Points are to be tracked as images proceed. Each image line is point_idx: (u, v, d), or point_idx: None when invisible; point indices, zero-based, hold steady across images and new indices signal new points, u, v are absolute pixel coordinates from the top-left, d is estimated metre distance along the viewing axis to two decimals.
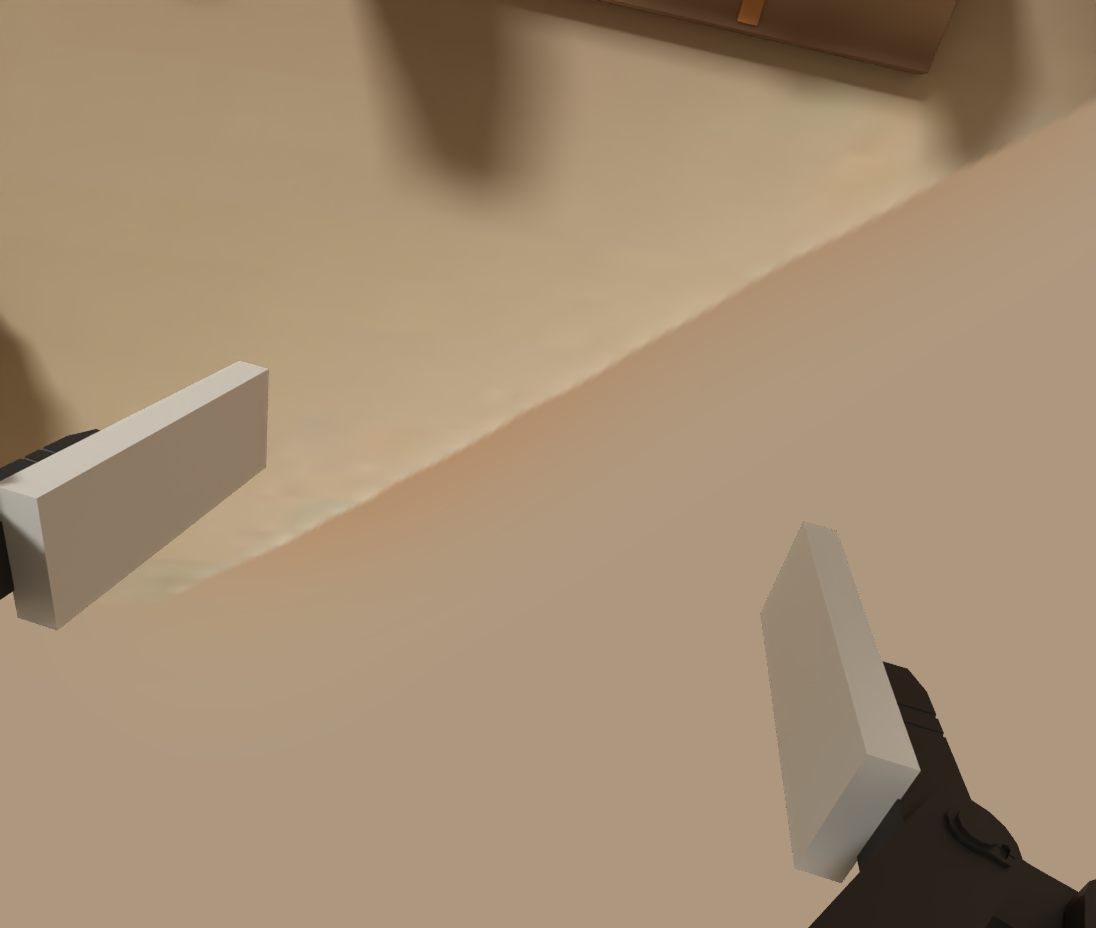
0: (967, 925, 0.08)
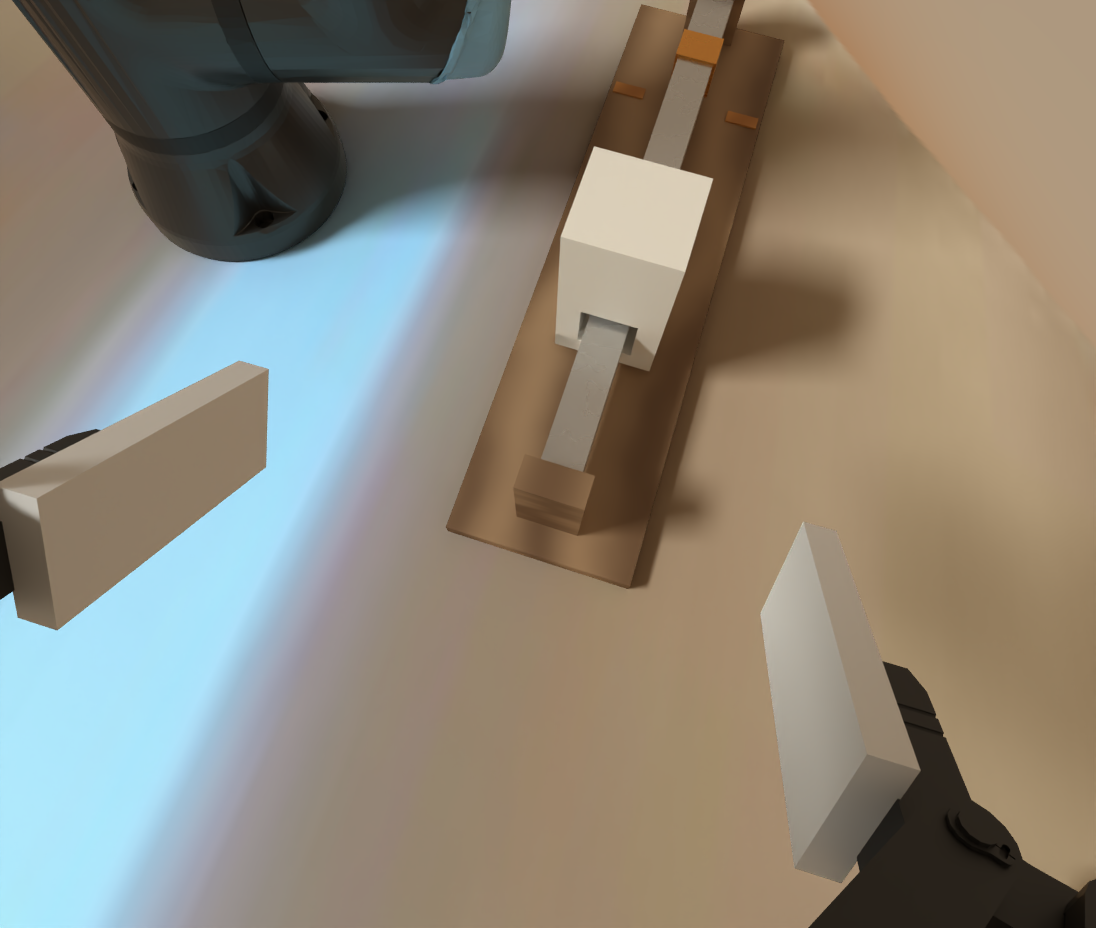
0: (967, 925, 0.08)
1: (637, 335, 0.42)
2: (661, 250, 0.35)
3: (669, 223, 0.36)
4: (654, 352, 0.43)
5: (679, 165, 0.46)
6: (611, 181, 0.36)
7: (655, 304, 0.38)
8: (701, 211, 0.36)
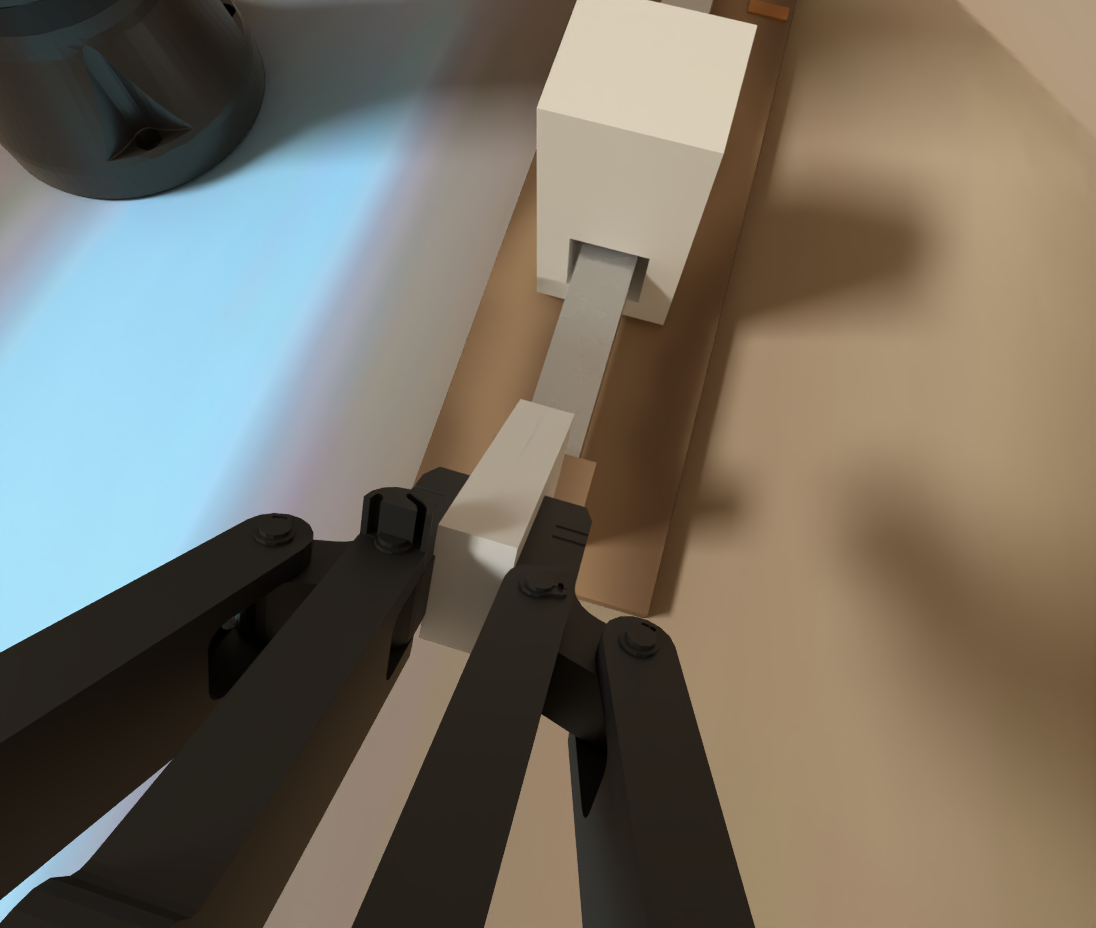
0: (549, 648, 0.10)
1: (648, 270, 0.31)
2: (686, 124, 0.24)
3: (696, 87, 0.24)
4: (671, 295, 0.32)
5: None
6: (609, 31, 0.25)
7: (676, 215, 0.27)
8: (742, 69, 0.24)
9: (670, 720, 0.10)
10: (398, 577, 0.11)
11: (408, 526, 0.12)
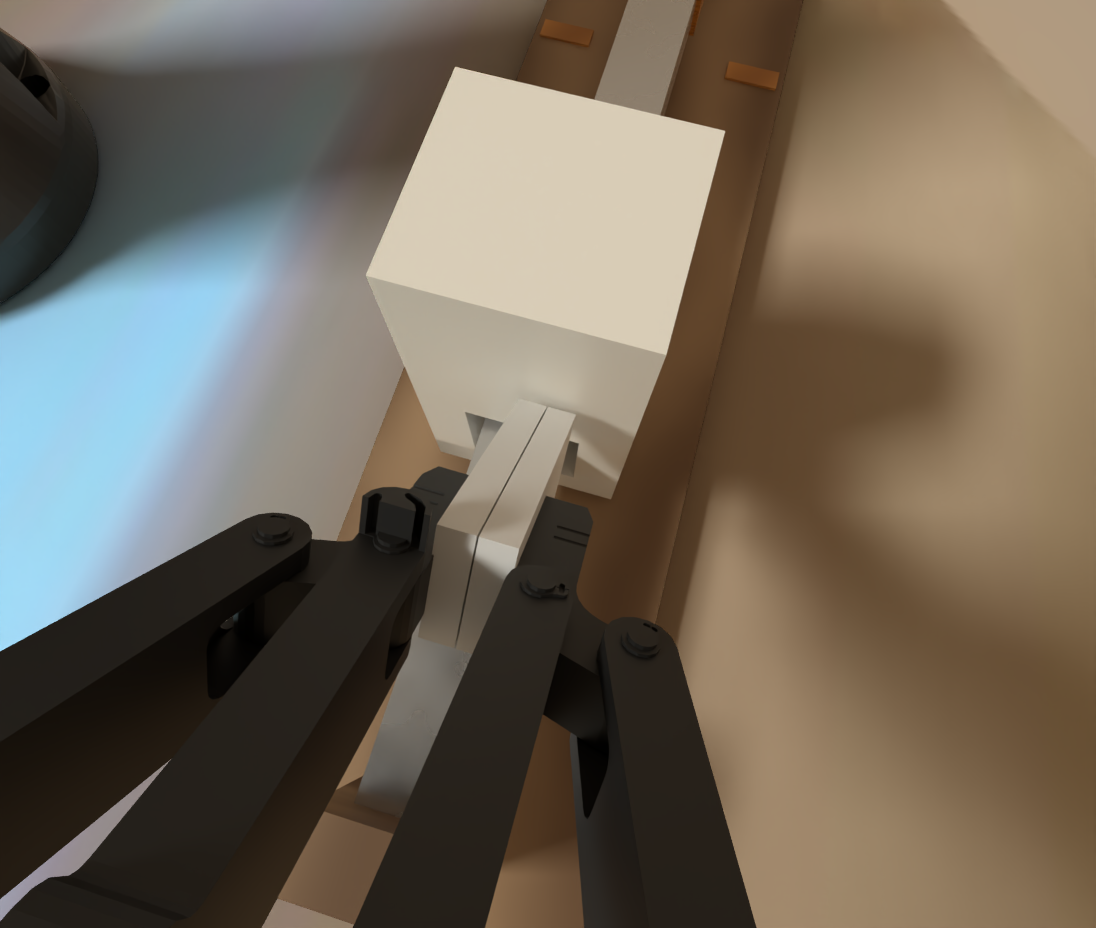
0: (550, 649, 0.10)
1: (580, 452, 0.21)
2: (608, 302, 0.15)
3: (626, 236, 0.15)
4: (616, 477, 0.23)
5: None
6: (491, 143, 0.16)
7: (607, 409, 0.18)
8: (701, 206, 0.15)
9: (672, 721, 0.10)
10: (397, 576, 0.11)
11: (407, 525, 0.12)
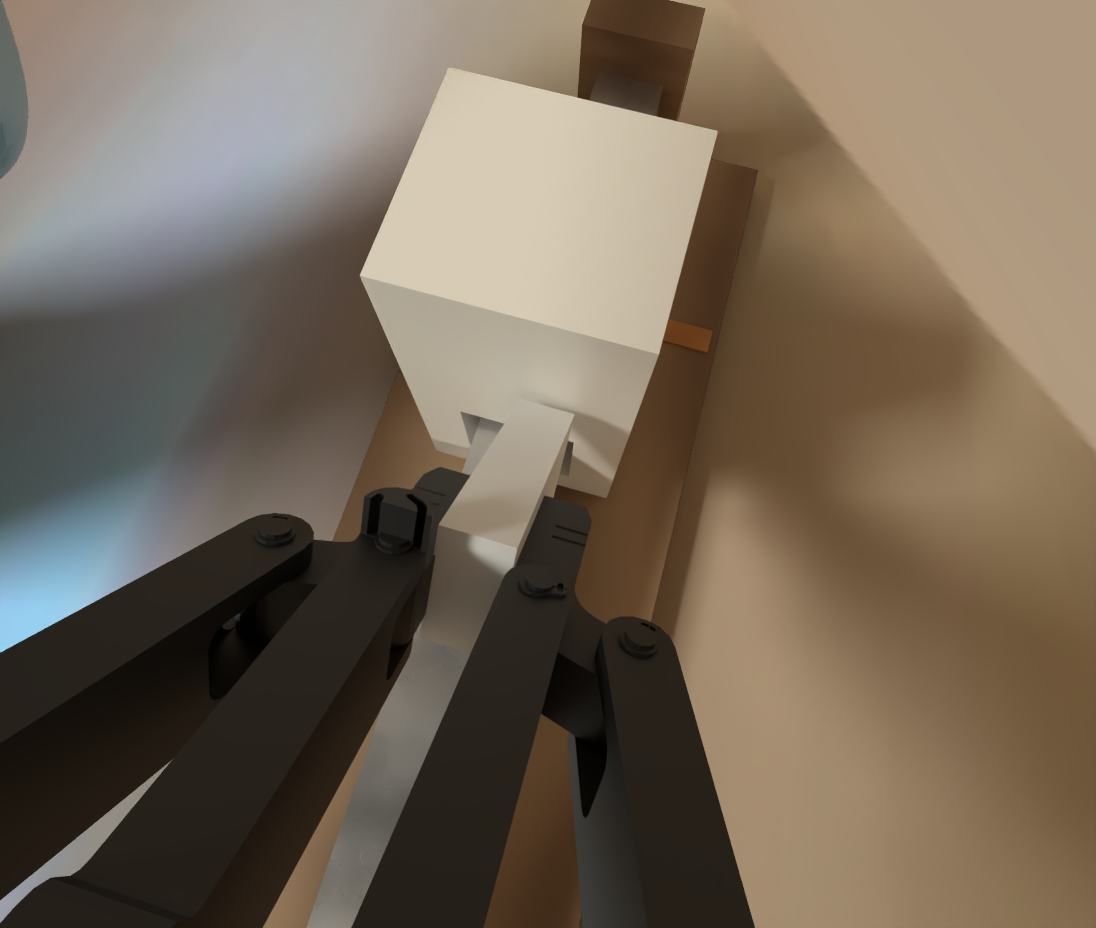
0: (549, 649, 0.10)
1: (574, 452, 0.22)
2: (600, 302, 0.15)
3: (619, 236, 0.15)
4: (611, 476, 0.23)
5: None
6: (485, 143, 0.16)
7: (601, 408, 0.18)
8: (693, 206, 0.15)
9: (670, 720, 0.10)
10: (398, 577, 0.11)
11: (408, 526, 0.12)
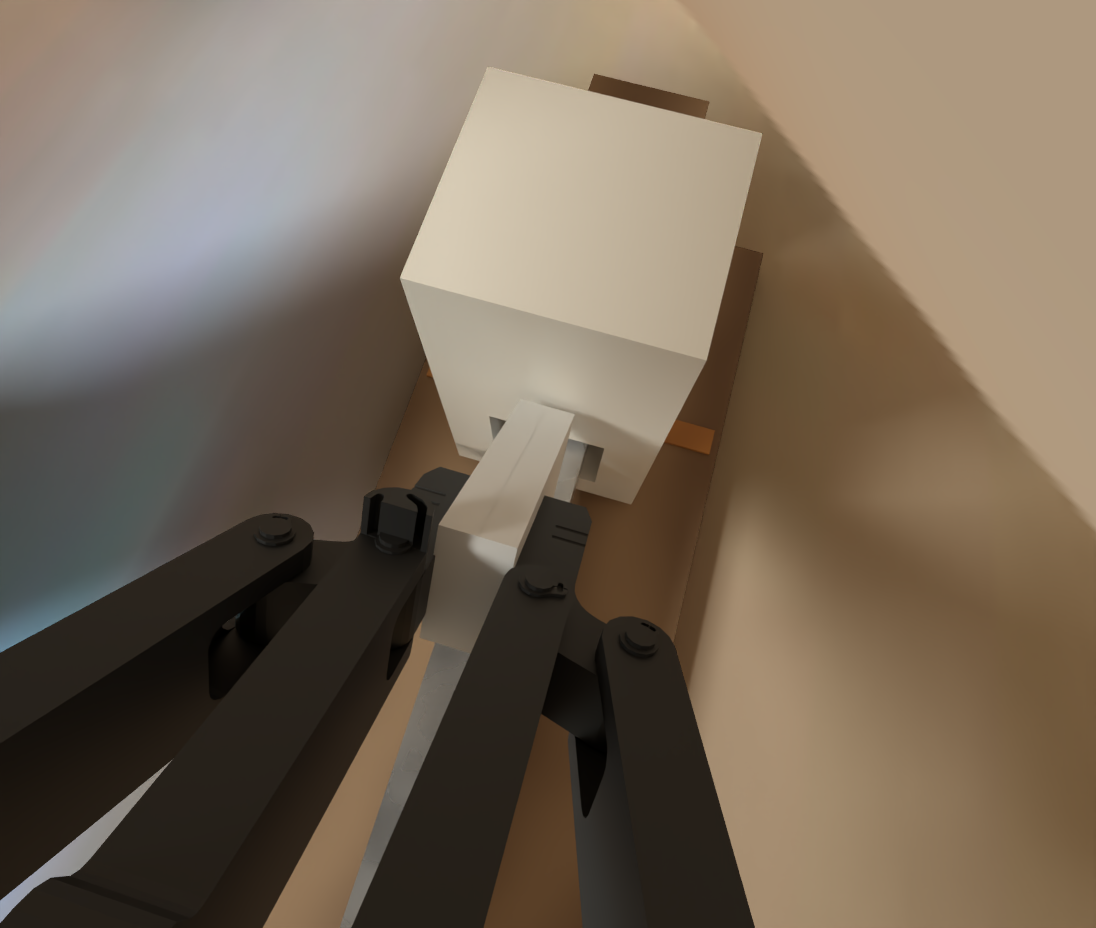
0: (549, 648, 0.10)
1: (604, 458, 0.21)
2: (646, 306, 0.14)
3: (664, 240, 0.15)
4: (639, 483, 0.23)
5: None
6: (526, 144, 0.16)
7: (637, 414, 0.17)
8: (739, 209, 0.15)
9: (670, 720, 0.10)
10: (398, 577, 0.11)
11: (408, 526, 0.12)
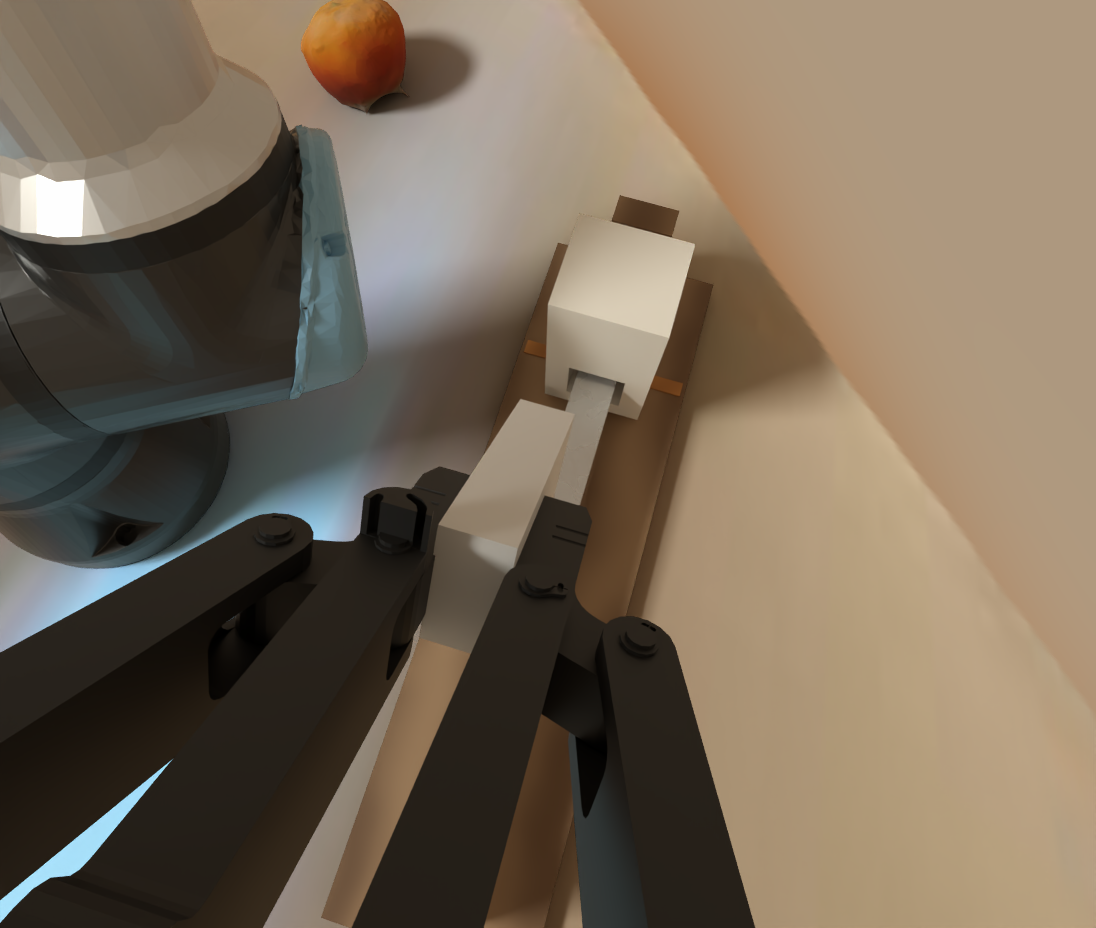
0: (549, 649, 0.10)
1: (624, 389, 0.43)
2: (646, 316, 0.36)
3: (653, 289, 0.37)
4: (641, 404, 0.44)
5: (584, 485, 0.41)
6: (596, 248, 0.37)
7: (641, 363, 0.39)
8: (684, 277, 0.37)
9: (670, 720, 0.10)
10: (398, 577, 0.11)
11: (408, 526, 0.12)
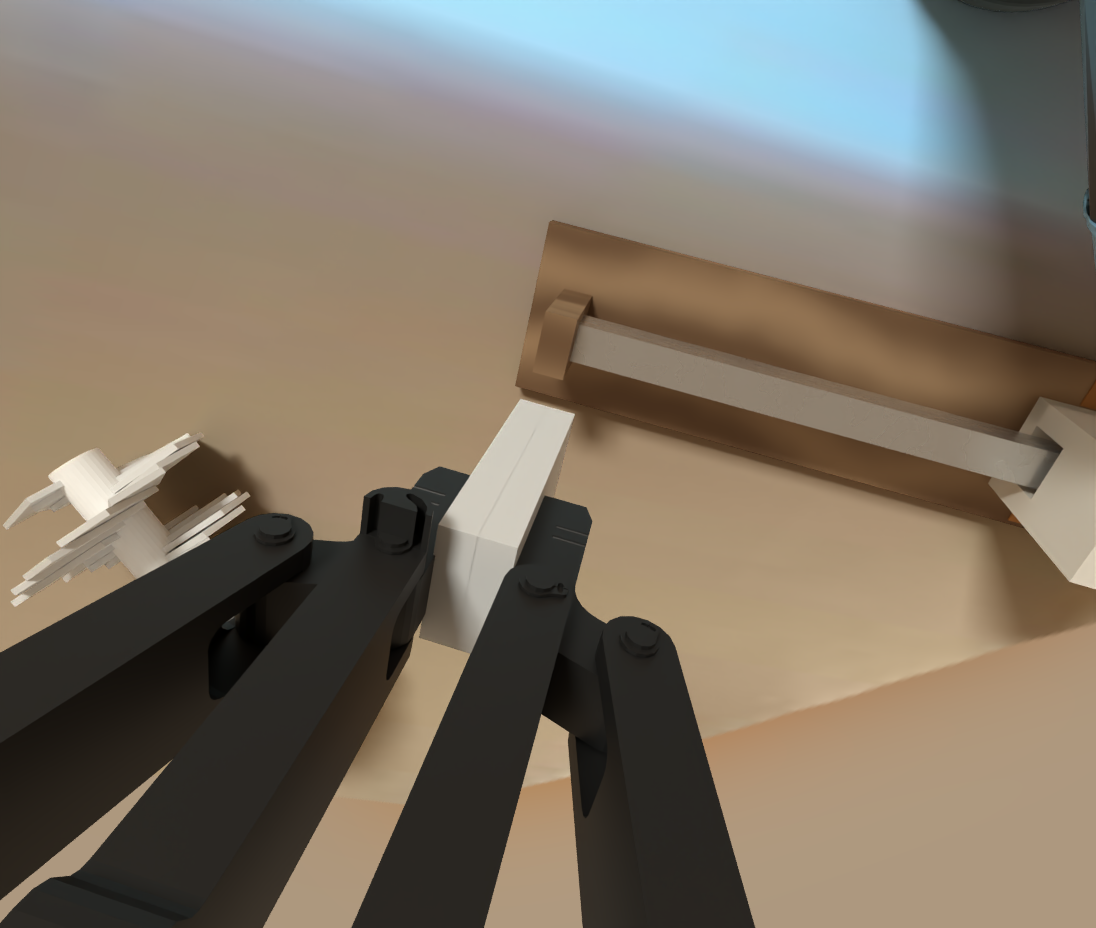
0: (549, 649, 0.10)
1: (1024, 494, 0.43)
2: None
3: None
4: (1004, 501, 0.45)
5: (921, 456, 0.43)
6: None
7: (1048, 533, 0.40)
8: None
9: (670, 720, 0.10)
10: (398, 577, 0.11)
11: (408, 526, 0.12)
